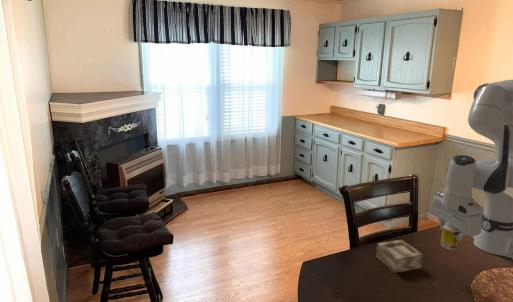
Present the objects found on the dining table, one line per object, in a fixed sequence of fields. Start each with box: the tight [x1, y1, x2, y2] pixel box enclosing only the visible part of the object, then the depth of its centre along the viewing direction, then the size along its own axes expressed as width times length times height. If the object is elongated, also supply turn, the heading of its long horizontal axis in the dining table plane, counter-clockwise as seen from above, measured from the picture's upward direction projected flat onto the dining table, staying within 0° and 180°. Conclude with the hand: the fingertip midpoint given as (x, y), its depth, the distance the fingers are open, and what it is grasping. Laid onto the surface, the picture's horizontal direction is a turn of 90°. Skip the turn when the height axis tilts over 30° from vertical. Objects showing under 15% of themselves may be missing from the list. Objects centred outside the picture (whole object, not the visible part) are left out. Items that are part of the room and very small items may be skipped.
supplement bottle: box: [440, 222, 460, 251], centre depth 131 cm, size 6×6×10 cm
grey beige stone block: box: [375, 239, 424, 274], centre depth 141 cm, size 12×12×6 cm
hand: (450, 234), depth 131 cm, fingers closed on supplement bottle, 6 cm apart
